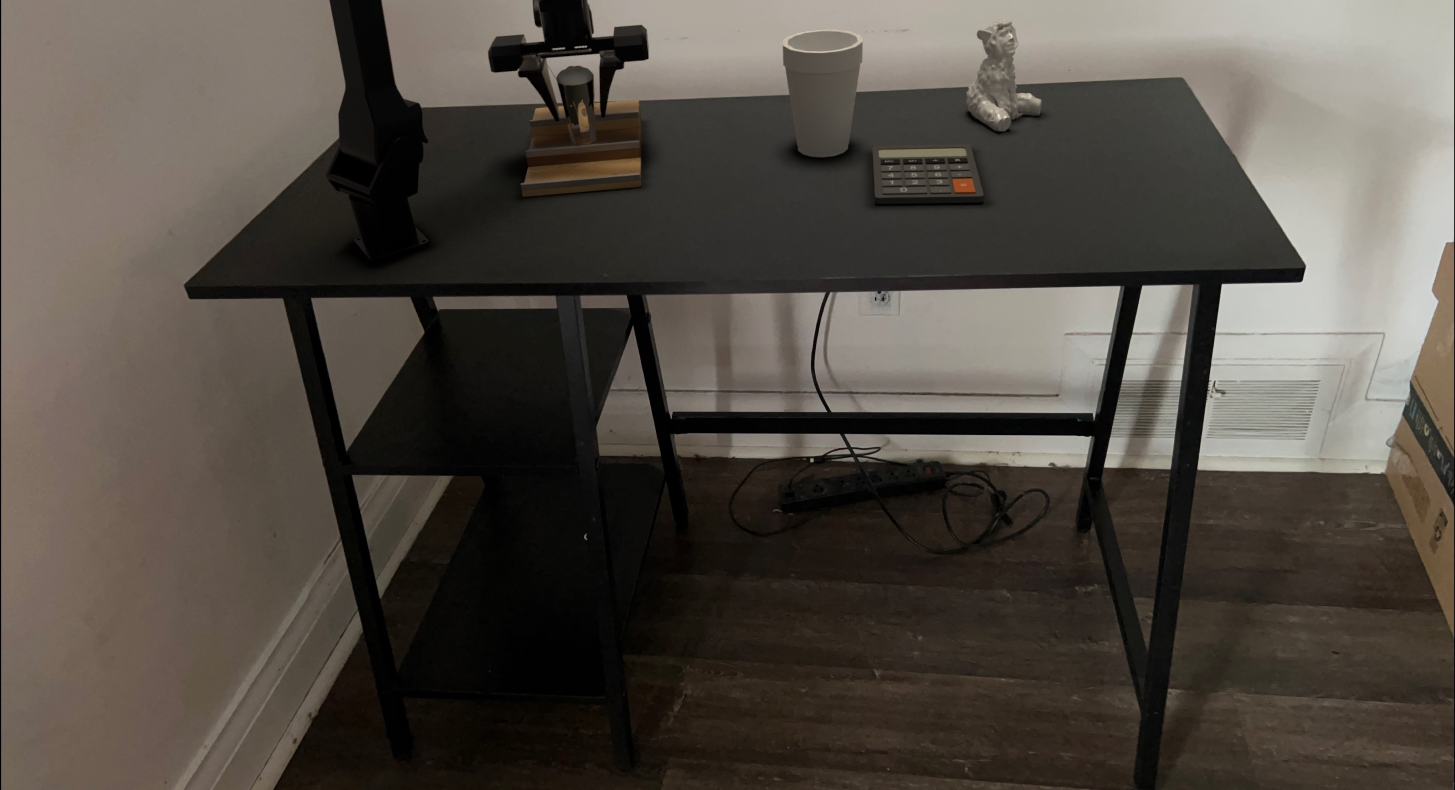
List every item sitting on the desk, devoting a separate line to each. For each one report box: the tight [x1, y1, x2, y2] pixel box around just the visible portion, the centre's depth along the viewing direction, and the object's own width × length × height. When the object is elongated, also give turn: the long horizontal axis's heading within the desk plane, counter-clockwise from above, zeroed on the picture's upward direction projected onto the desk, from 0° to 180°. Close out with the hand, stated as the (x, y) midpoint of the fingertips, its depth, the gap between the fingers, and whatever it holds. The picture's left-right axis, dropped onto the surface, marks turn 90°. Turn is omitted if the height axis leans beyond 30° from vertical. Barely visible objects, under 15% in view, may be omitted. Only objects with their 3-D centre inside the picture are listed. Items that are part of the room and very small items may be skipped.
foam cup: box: [782, 29, 864, 158], centre depth 116 cm, size 10×9×13 cm
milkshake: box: [547, 65, 597, 145], centre depth 118 cm, size 5×5×10 cm
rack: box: [520, 99, 643, 198], centre depth 120 cm, size 22×14×4 cm, turn 4°
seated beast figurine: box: [965, 18, 1043, 133], centre depth 121 cm, size 10×9×12 cm
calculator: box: [872, 143, 985, 205], centre depth 110 cm, size 12×1×15 cm
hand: (580, 118), depth 119 cm, fingers open, 5 cm apart
